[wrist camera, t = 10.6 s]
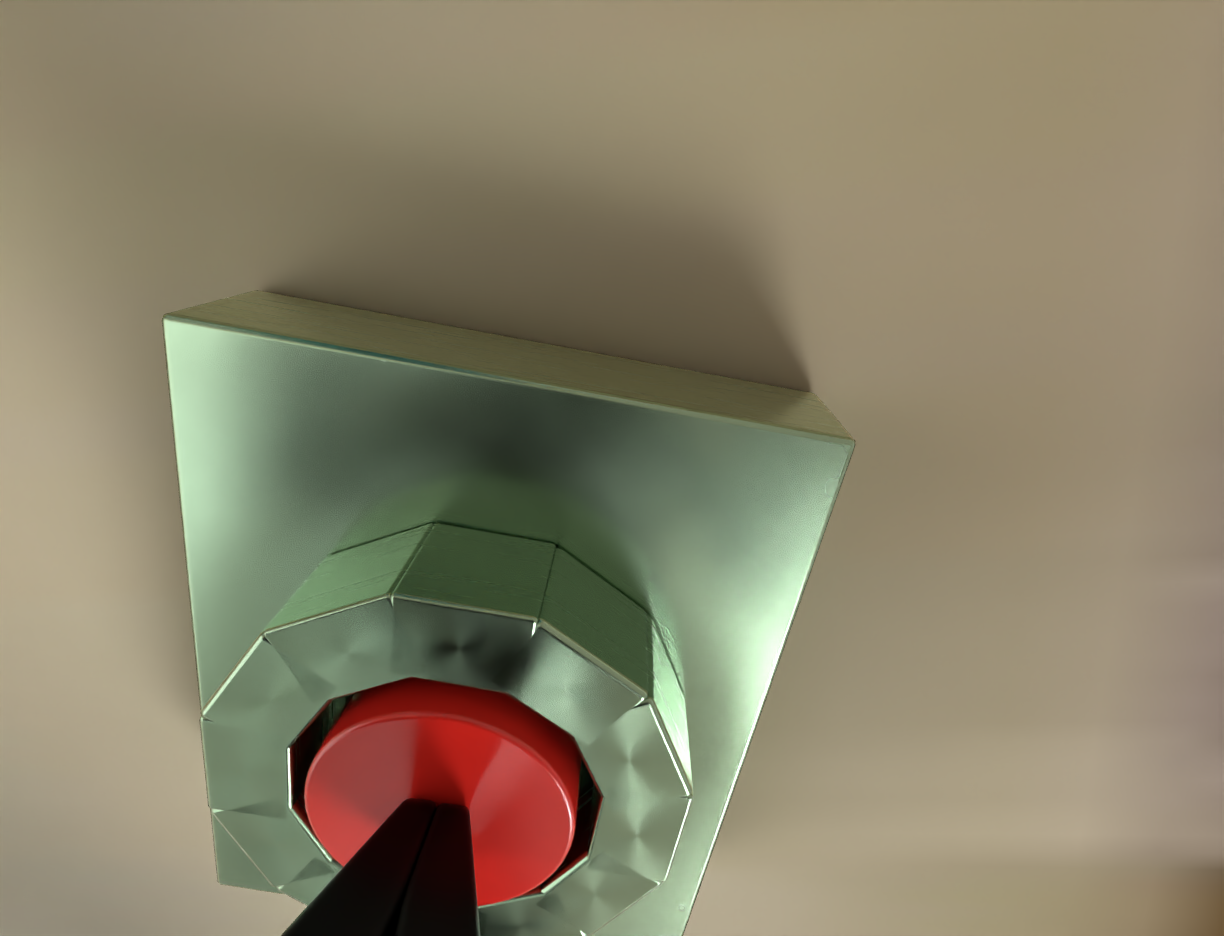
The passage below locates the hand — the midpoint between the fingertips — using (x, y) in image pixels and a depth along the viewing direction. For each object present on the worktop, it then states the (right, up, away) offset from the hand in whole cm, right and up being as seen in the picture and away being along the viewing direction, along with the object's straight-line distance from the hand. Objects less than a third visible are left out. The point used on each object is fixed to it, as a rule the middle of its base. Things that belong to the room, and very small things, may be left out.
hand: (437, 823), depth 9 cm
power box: (0, +2, +4) cm, 4 cm away
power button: (0, +1, +2) cm, 2 cm away
